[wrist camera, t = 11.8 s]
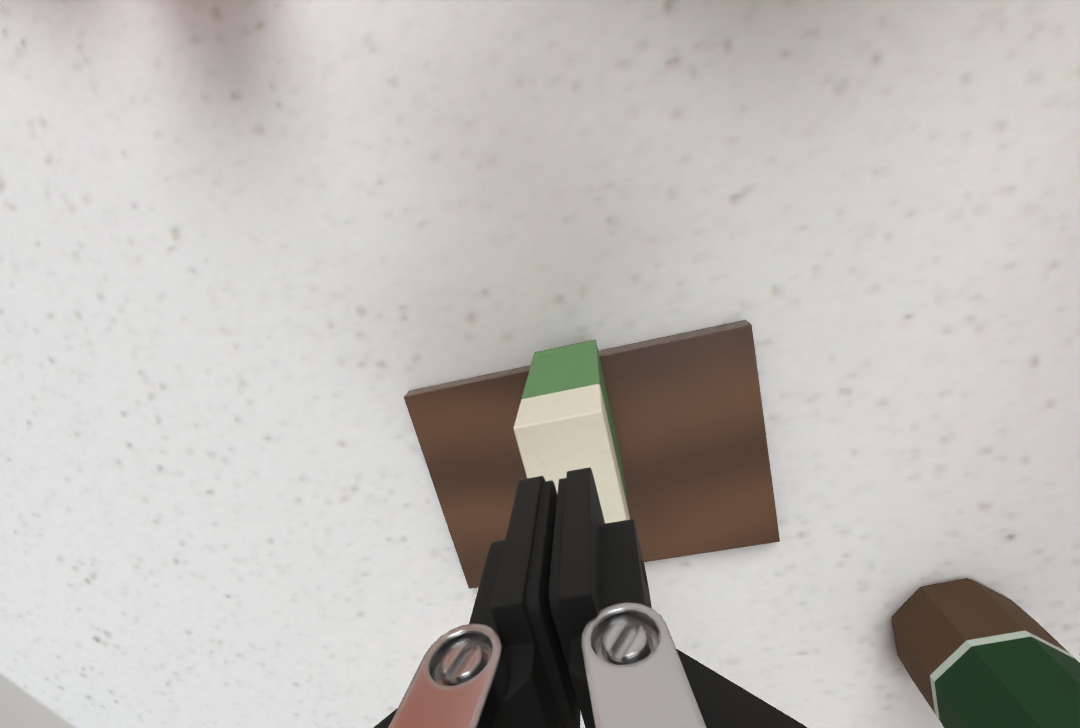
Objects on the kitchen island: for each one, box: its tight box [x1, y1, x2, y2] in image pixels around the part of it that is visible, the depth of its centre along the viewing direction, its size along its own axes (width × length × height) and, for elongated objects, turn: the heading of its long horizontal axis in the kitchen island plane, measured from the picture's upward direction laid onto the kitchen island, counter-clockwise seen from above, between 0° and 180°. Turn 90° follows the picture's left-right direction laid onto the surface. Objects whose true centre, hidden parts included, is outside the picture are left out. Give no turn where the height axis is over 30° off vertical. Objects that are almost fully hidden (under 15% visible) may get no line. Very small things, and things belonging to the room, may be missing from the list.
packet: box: [513, 340, 630, 523], centre depth 26 cm, size 10×4×7 cm
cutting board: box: [404, 320, 780, 588], centre depth 32 cm, size 14×20×1 cm
